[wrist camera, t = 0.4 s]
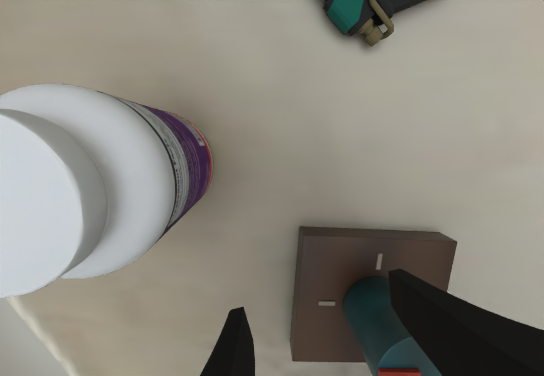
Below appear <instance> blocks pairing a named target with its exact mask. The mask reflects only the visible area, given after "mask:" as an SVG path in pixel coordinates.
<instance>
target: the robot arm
mask: <svg viewBox="0 0 544 376" xmlns="http://www.w3.org/2000/svg"><path fill="white" fill-rule="evenodd" d="M388 274H389V286H390V298H391V306H392V308H393V309H394V311H395V313H396V314H397V316H398V318H399V319H400V321H401V322H402V324H403V326H404V327H405V328H406V330H407V331H408V332H409V334H410V335H411V336H412V337H413V339H414V340H415V341H416V343H417V344H418V345H419V346H420V348H421V349H422V350H423V352H424V353H425V354H426V355H427V357H428V358H429V359H430V361H431V362H432V363H433V364H434V366H435V367H436V368H437V370H438V371H439V372H440V374H441V375H442V376H544V330H541V329H538V328H535V327H532V326H529V325H526V324H523V323H519V322H516V321H514V320H511V319H508V318H505V317H502V316H500V315H497V314H495V313H492V312H490V311H487V310H485V309H482V308H480V307H477V306H475V305H473V304H470V303H468V302H466V301H464V300H462V299H459V298H457V297H455V296H453V295H451V294H449V293H447V292H445V291H443V290H441V289H439V288H437V287H435V286H433V285H431V284H429V283H427V282H425V281H424V280H422V279H420V278H418V277H416V276H414V275H412V274H410V273H409V272H407V271H405V270H403V269H401V268H400V269H395V270H391V271H388ZM200 376H255V356H254V344H253V338H252V334H251V331H250V327H249V324H248V321H247V317H246V314H245V310H244V307H240V308H236V309H232V310H230V312H229V314H228V317H227V319H226V322H225V325H224V327H223V329H222V332H221V334H220V336H219V339H218V341H217V343H216V345H215V347H214V349H213V352H212V354H211V356H210V358H209V359H208V361H207V363H206V365H205V367H204V369H203V371H202V373H201V375H200Z"/></svg>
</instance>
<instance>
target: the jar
mask: <svg viewBox="0 0 544 376" xmlns="http://www.w3.org/2000/svg"><path fill="white" fill-rule="evenodd" d="M343 312H344V316H345V318H346V320H347V322H348V324H349V326H350V329H351V331H352V333H353V335H354V337H355V339H356V341H357V343H358V345H359V348H360V350H361V352H362V354H363V356H364V358H365V360H366V362H367V365H368V367H369V369H370V371H371V373H372V375H373V376H442V375H441V374H440V372H439V371H438V370H437V368H436V367H435V366H434V364H433V363H432V362H431V361H430V359H429V358H428V357H427V355H426V354H425V353H424V352H423V350H422V349H421V348H420V346H419V345H418V344H417V343H416V341H415V340H414V339H413V337H412V336H411V335H410V334H409V332H408V331H407V330H406V328H405V327H404V326H403V324H402V322H401V321H400V319H399V318H398V316H397V314H396V313H395V311H394V309H393V308H392V306H391V298H390V286H389V280H387V279H385V278H381V277H371V278H366V279H363V280H361V281H359V282H357V283H356V284H354V285H353V286H352V287H351V288H350V289H349V291H348V292H347V294H346V296H345V298H344V302H343Z"/></svg>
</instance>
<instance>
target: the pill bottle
mask: <svg viewBox="0 0 544 376" xmlns="http://www.w3.org/2000/svg"><path fill="white" fill-rule="evenodd" d="M212 173H213V161H212V154H211V151H210V148H209V145H208V143H207V141H206V140H205V138H204V136H203V135H202V134H201V132H200V131H199V130H198V129H197V128H196V127H195V126H194V125H192V124H191V123H190V122H188V121H187V120H185V119H183V118H181V117H179V116H177V115H174V114H172V113H168V112H165V111H161V110H158V109H154V108H151V107H147V106H144V105H141V104H137V103H134V102H131V101H128V100H124V99H121V98H118V97H114V96H112V95H108V94H105V93H102V92H99V91H95V90H91V89H88V88H84V87H80V86H74V85H68V84H37V85H31V86H25V87H21V88H18V89H14V90H12V91H10V92H7V93H5V94H2V95H0V298H7V297H15V296H20V295H23V294H27V293H30V292H33V291H36V290H38V289H40V288H43V287H45V286H47V285H48V284H50V283H52V282H53V281H55V280H56V279H58V278H66V279H80V278H90V277H96V276H101V275H104V274H108V273H111V272H114V271H116V270H119V269H121V268H123V267H125V266H127V265H129V264H131V263H132V262H134V261H135V260H137V259H138V258H140V257H141V256H142V255H143V254H145V253H146V252H147V251H148V250H149V249H150V248H151V247H152V246H153V245H154V244H155V243H156V242H157V241H158V240H159V239H160V238H161V237H162V236H163V235H164V234H165V233H166V232H167V231H168V230H169V229H170V228H171V227H172V226H173V225H174V224H175V223H176V222H177V221H178V220H179V219H180V218H181V217H182V216H183V215H184V214H185V213H186V212H187V211H188V210H189V209H190V208H191V207H192V206H193V205H194V204H195V203H196V202H197V201H198V200H199V199H200V198H201V197H202V196H203V194H204V193H205V192H206V190H207V188H208V186H209V184H210V181H211V178H212Z"/></svg>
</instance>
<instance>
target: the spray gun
mask: <svg viewBox="0 0 544 376" xmlns="http://www.w3.org/2000/svg"><path fill="white" fill-rule="evenodd" d="M423 1H425V0H327V2H326V4H325V5H324V7H323V9H324V10H325V11H326V12H327V15H328V16H329V17H330V18H331V20H332V21H333V22H334V23H335V24H336V26H337V27H338V28H339V29H340V30H341V32H342V33H343V34H345V33H346V32H347V33H348V34H349V36H352V35H354V34H355V33H356V32H357V31H358V32H359V33H360V34H365V35H366V37H365V40H366V41H367V43H368V44H369V45H370V46H373V45H375V44H376V43H377V42H378V41H379V40H380V39H381V40H382V39H384V38H387V37H388V36H389V35H391V34H392V33H393V32H394V25H393V24H392V22H391V20H390V18H391V17H392V15H393V14H394V13H396V12H399V11H401V10H404V9H406V8H408V7H411V6H413V5H416V4H418V3H421V2H423ZM373 23H374V24H375V25H377V26H375V25H374V24H373ZM383 23H384V24H385V26H386V27H387V28H388V30H387V31H386V32H384V33H382V31H381V30H380V29H379V28H378V26H380V25H382V24H383Z"/></svg>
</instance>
